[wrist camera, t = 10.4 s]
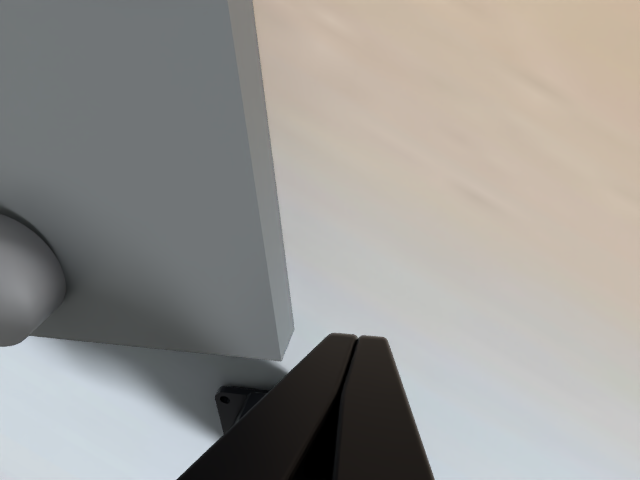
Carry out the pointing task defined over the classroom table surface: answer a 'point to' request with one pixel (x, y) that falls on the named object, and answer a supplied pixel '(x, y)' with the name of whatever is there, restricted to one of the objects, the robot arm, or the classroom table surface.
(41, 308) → the beige and grey mallet
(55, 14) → the gauge plate
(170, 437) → the classroom table surface
